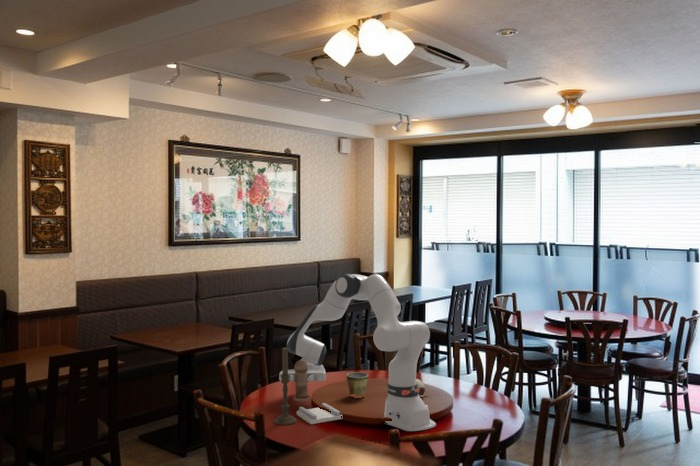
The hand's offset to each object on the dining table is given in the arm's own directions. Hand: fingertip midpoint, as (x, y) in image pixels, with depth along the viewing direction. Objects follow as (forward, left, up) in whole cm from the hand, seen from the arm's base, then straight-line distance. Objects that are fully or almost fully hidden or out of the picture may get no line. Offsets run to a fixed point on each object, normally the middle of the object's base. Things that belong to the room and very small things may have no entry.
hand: (300, 379), depth 257 cm
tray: (-13, -2, -13) cm, 18 cm away
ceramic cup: (+6, -31, -13) cm, 34 cm away
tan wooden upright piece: (+1, 0, -9) cm, 9 cm away
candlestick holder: (-12, +12, -13) cm, 21 cm away
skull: (-7, -54, -13) cm, 56 cm away
